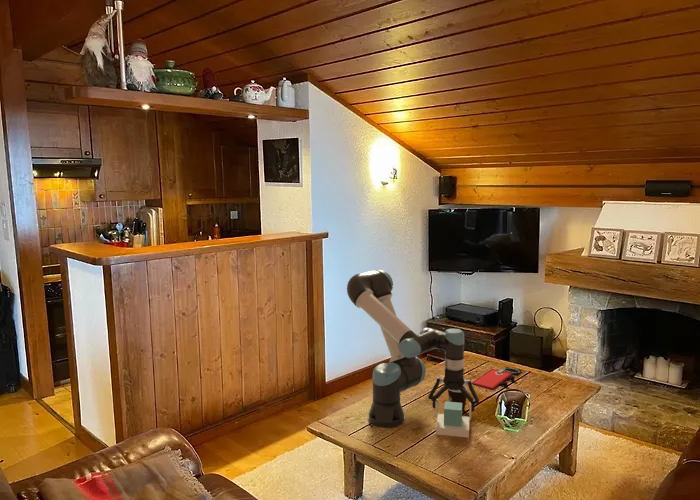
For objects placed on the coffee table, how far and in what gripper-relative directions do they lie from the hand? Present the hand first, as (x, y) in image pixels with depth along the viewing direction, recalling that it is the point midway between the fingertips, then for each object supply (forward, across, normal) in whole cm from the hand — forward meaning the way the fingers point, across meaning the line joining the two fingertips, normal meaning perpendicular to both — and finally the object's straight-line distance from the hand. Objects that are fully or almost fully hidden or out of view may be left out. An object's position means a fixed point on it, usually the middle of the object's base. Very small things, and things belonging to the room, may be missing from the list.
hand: (453, 416), depth 222 cm
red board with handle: (+6, +20, +57) cm, 61 cm away
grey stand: (+5, 0, 0) cm, 5 cm away
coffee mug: (+5, +1, +20) cm, 20 cm away
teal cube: (+2, 0, 0) cm, 2 cm away
